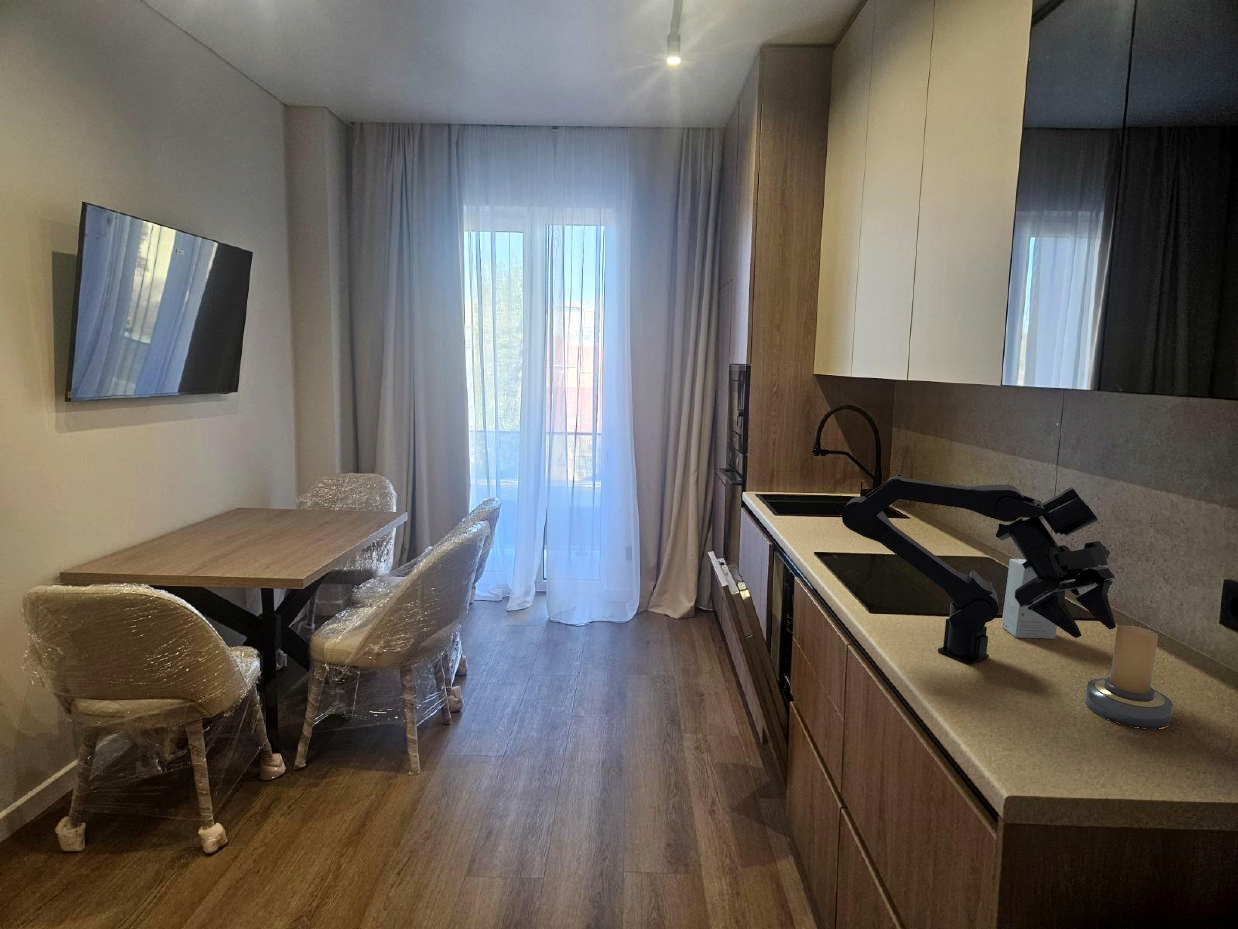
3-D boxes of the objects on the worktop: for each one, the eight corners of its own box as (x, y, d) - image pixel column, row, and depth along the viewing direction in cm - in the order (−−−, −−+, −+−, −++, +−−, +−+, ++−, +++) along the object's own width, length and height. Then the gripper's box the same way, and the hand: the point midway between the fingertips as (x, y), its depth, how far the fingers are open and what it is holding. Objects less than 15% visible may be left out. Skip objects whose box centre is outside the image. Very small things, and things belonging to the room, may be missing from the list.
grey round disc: (1071, 705, 115) (1074, 685, 114) (1105, 689, 121) (1108, 671, 120) (1150, 737, 106) (1153, 716, 105) (1182, 718, 111) (1186, 698, 111)
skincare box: (1015, 638, 142) (1023, 566, 140) (999, 627, 148) (1007, 557, 146) (1057, 639, 142) (1066, 567, 140) (1040, 628, 148) (1048, 558, 145)
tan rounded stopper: (1104, 694, 112) (1112, 633, 110) (1104, 679, 117) (1112, 621, 115) (1155, 706, 108) (1164, 643, 107) (1152, 690, 114) (1161, 630, 112)
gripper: (1040, 530, 114) (1102, 619, 106) (1110, 520, 123) (1173, 603, 115) (990, 563, 123) (1045, 649, 115) (1059, 553, 131) (1114, 632, 123)
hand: (1096, 632), depth 116 cm, fingers open, 9 cm apart
